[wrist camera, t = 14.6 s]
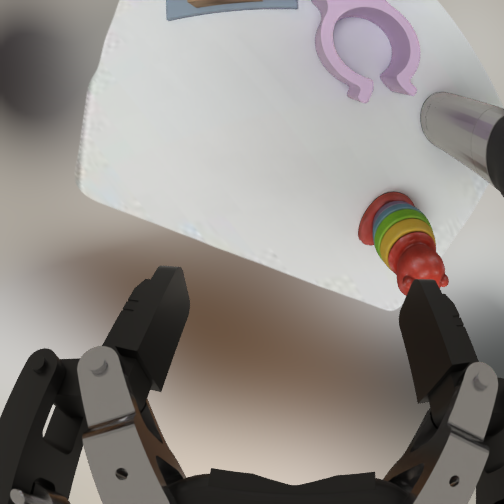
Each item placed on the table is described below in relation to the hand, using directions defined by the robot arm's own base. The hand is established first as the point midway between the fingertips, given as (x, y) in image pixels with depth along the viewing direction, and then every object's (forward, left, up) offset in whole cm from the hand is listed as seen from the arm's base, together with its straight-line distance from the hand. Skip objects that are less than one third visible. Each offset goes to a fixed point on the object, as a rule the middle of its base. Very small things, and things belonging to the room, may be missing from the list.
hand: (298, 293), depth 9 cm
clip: (-9, -15, -34) cm, 38 cm away
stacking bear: (-17, +14, -34) cm, 41 cm away
